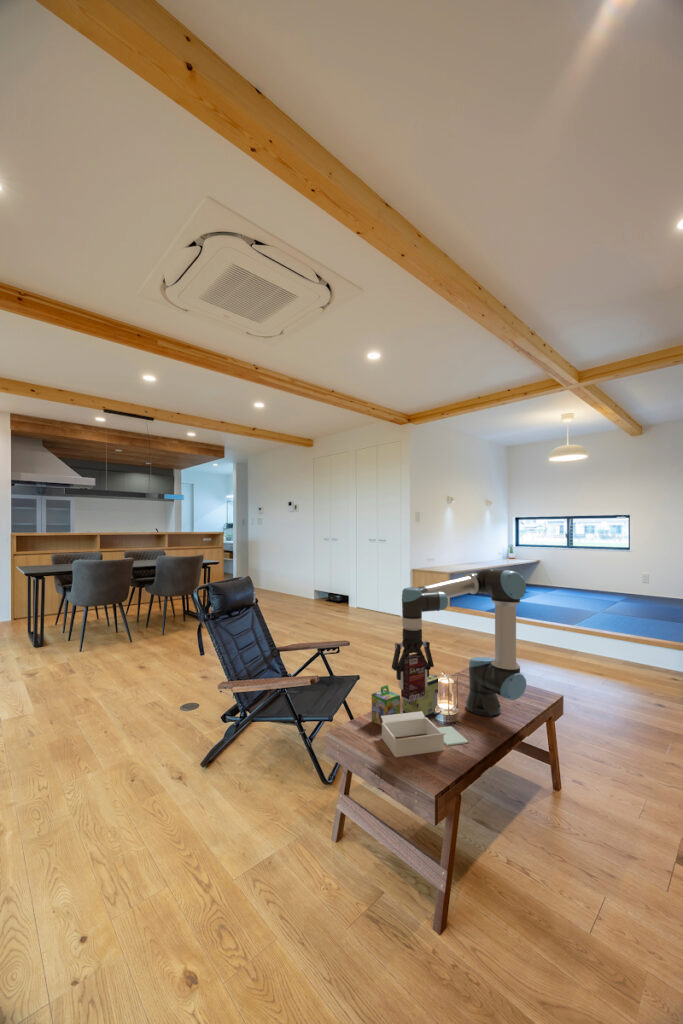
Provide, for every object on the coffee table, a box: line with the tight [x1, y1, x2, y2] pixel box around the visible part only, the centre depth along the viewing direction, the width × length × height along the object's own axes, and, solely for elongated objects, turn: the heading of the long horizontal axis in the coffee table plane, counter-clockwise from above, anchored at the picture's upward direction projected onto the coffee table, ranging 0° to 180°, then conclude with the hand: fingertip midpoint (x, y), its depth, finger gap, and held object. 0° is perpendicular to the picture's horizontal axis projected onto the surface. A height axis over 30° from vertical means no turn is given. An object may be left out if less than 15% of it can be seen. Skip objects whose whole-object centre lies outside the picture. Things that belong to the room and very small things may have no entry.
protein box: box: [401, 673, 438, 719], centre depth 182 cm, size 10×16×16 cm
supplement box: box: [400, 653, 426, 702], centre depth 155 cm, size 9×5×16 cm, turn 123°
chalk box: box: [371, 684, 401, 727], centre depth 172 cm, size 9×9×15 cm
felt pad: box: [437, 725, 469, 747], centre depth 160 cm, size 9×13×1 cm
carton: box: [381, 711, 446, 758], centre depth 154 cm, size 19×20×7 cm
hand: (413, 686), depth 155 cm, fingers closed on supplement box, 9 cm apart
